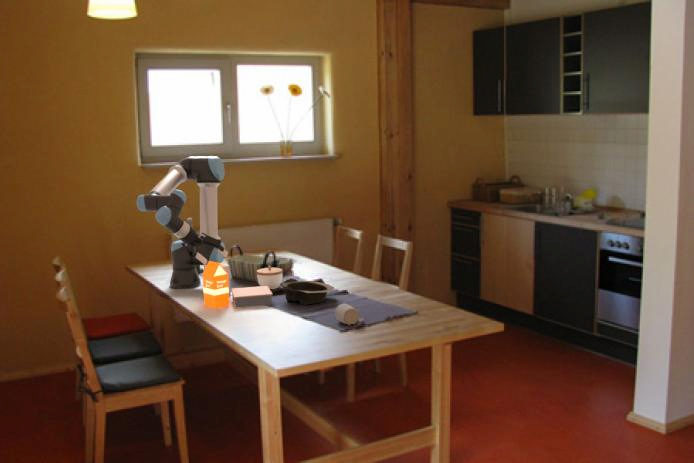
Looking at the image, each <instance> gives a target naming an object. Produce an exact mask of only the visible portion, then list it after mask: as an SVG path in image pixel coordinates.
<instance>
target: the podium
mask: <svg viewBox="0 0 694 463" xmlns="http://www.w3.org/2000/svg"><path fill="white" fill-rule="evenodd" d="M230 291H231V296H232V301H233V303H234V305H235V308H237V309H238V308H246V307H247V308H248V307H258V306H261V307H262V306H268V305H269V306H270V305H273V302H272V301H273V300H272V296H273V295H274V294H273V292H272V290H270V289H269V288H268V286H260V285H259V286H258V285H257V286H247V287H237V288H236V287H235V288H230Z"/></svg>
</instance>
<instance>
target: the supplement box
mask: <svg viewBox="0 0 694 463" xmlns="http://www.w3.org/2000/svg"><path fill="white" fill-rule="evenodd" d="M220 264H221V266H222V267H223V269H224V270H225V271H226V273H227V274H228V288H229V297H231V296H232V291H231V273H230V272H231V268H230V267H231V266H230V264H225V263H220ZM206 266H207V265H203V271H204V270H205V268H206Z"/></svg>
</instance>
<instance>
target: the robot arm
mask: <svg viewBox="0 0 694 463" xmlns="http://www.w3.org/2000/svg"><path fill="white" fill-rule="evenodd" d="M223 162H224V161H222V159H221V158H220V157H219V156H213V155H209V156H206V155H205V156H187V157H184V158H183V159H181V160H179V161H177V162H176V163H173V165H172V166H171V167H170V168H169V169H168V173H167V174H166V175H165V176H164V177H163V178H162V179H161V180H160V181H159V182H158V183H157V184H156V185H155V186H154V187H153V188H152V189H151V190H150V191H149V192H148V193H147V194H139V195H138V196H137V199H136V207H137V209H138V211H140V212H156V213H155V214H154V215H155V216H154V217H155V220H156V221H157V222H158V223H159V224H160V225H161V226H163V227H164V228H165V229H166V230H168V231H169V232H170V233H171V234H173V235H174V236H175V237H176V238H178V239H179V240H176V241H173V242H172V243H171V246H170V247H171V248H170V250H171V251H170V252H171V263H172V264H171V265H172V271H171V272H172V273H171V277H170V280H169V286H170V288H172V289H189V288H196V287H199V286H201V283H202V282H201V277H200V276H199V274H198V273H197V270H196V265H200V266H206V265H207V264H208V262H209V261H212V262H217V263H221V264H223V261H224V259H225V258H228V254H229V251H228V250H226V246H225V243H224V242H222V240H221V239H222V238H221V237H220V236H219V235H218V234H219V232H218V227H219V226H218V187H219V186H220V185H221V181H222V180H224V178H225V175H226V171H225V165H224V163H223ZM186 181H196V185H197V186H198V187H199V225H200V226H199V234H198V233H197V231H196V230H195V229H194V227H193V228H192V227H190V226H189V225H188V224H187V221H185V220H184V219H182V218H181V217H180V216H181V214H182V212H183V209H184V206H185V205H186V201H187V195H186V192H184V191H183V190H180V189H177V188H178V186H179V185H180V184H184V183H185V182H186Z"/></svg>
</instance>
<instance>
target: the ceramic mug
mask: <svg viewBox="0 0 694 463" xmlns="http://www.w3.org/2000/svg"><path fill="white" fill-rule="evenodd" d="M334 317H335V318H336V320H337V321H338V322H341V323H342V324H344V325H346V324H347V326H352V325H351V324H353V325H355V324H356V323H357V322H359V323H363V322H364V318H363V317H362V316H359V312H358V310H357V309H356V308H354V307H353V306H351V305H350V304H348V303H341V304H339V305H337V306H336V308H335V311H334Z"/></svg>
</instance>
